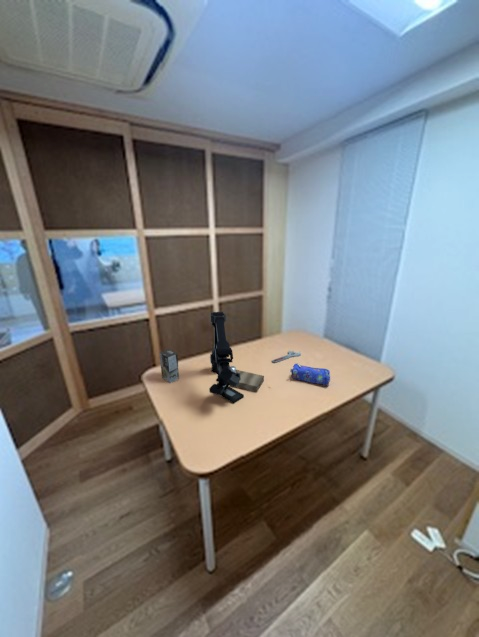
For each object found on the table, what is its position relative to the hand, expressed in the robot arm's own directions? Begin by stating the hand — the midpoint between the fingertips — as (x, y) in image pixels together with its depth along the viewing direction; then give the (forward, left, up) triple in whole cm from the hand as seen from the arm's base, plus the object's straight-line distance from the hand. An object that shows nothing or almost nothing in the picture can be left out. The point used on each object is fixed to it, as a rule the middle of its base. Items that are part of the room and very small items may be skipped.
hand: (223, 396), depth 132 cm
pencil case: (+38, +35, -2) cm, 52 cm away
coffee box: (-37, +5, -1) cm, 37 cm away
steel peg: (-3, +18, -1) cm, 18 cm away
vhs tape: (+1, +4, -2) cm, 5 cm away
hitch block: (+2, +18, -1) cm, 18 cm away
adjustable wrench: (+19, +59, -2) cm, 62 cm away
